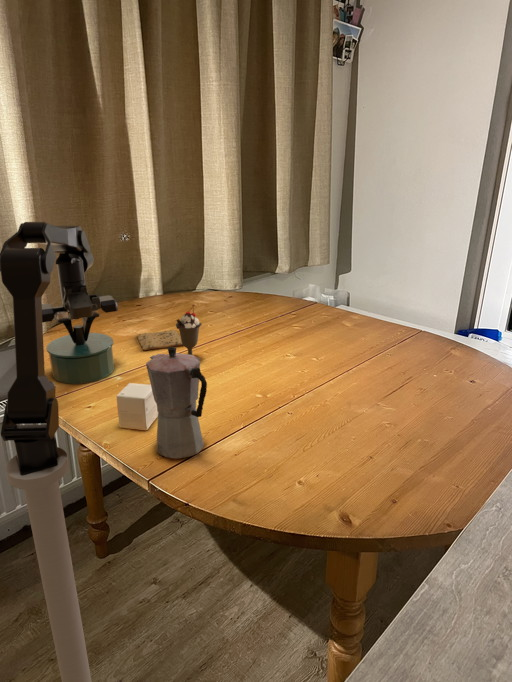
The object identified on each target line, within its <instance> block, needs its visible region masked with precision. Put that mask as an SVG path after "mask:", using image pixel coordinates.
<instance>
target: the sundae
mask: <svg viewBox="0 0 512 682" xmlns="http://www.w3.org/2000/svg"><path fill="white" fill-rule="evenodd" d="M195 306H196V304H192V305H191V308H190V309H189V310H187V311H186V312H185V313H184V314H183V315H182V316H181V317H180V319H179V318H178V319H176V324H175V327H176V329H177V330H178V331H179V336H180V337H181V341H182V345H181V346H183V347H184V348H186V349H187V354H188V355H194V354H193V349H194V348H195V347H196V346H197V344H198V342H199V341H198V340H199V333H200V332H199V331H200V327H202V323H201V322H200V320H199V318H198V317H196V316H197V315H196V313H195V310H194V309H195ZM191 311H192V312H191ZM194 356H195V355H194ZM195 357H196V358H197V359H198V361H199V362H201V361H200V360H201V359H200V357H198V356H195Z"/></svg>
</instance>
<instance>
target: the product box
mask: <svg viewBox="0 0 512 682" xmlns="http://www.w3.org/2000/svg"><path fill="white" fill-rule="evenodd" d="M116 406H117V416H118V426H119V428H121V429H131V430H140V431H148V429H150V427H151V425H152V424H153V423H154V422H155V421H156V419H158V411H157V404H156V402H155V400H154V396H153V392H152V388H151V384H148V383H147V384H146V383H135V382H134V383H133V382H128V384H127V385H125V387H123V388H122V389H121V390H120V391H119V392H118V394H117V395H116Z"/></svg>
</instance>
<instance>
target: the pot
mask: <svg viewBox="0 0 512 682" xmlns="http://www.w3.org/2000/svg"><path fill="white" fill-rule="evenodd" d="M113 351H114V350H113V346H112V347H111V348H109V349H108V350H106V351H104V352H102V353H99V354H96V355H92V356H87V357H80V358H62V357H56V356H53V355H51V354H49V353H48V355H49V361H50V369H51V374H52V378H53V379H54V380H55V381H57V382H59V383H62V384H68V385H79V384H80V385H82V384H88V383H94V382H97V381H100V380H102V379H105V378H106V377H108V376H110V375H111V374H112V373H113V372H114V371H115V360H114V352H113Z"/></svg>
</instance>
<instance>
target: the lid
mask: <svg viewBox="0 0 512 682" xmlns="http://www.w3.org/2000/svg"><path fill="white" fill-rule="evenodd" d="M72 327H73V331H74V335H75V340H76V343H74V342H73V341H72V339H71V337H70V335H69V334H67V335H63V336H60V337H58V338H55V339H52V340H51V341H50V342H49V343H48V344H47V345H46V352H47V353H48V355H49V354H51V355H53V356H56V357H62V358H80V357H87V356H92V355H96V354H99V353H102V352H104V351H106V350H108V349H109V348H111V347H112V348H113V345H114V338H113V337H111V336H110V335H107V334H104V333H99V332H89V336H88V340H87V341H85V334H84V326H83V324H75V325H72Z"/></svg>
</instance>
